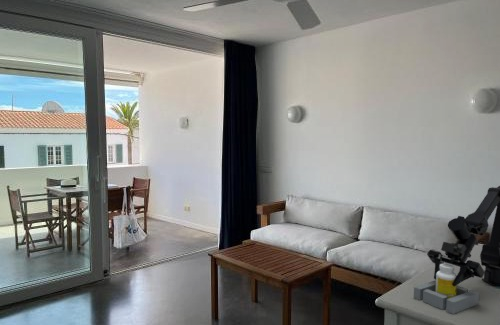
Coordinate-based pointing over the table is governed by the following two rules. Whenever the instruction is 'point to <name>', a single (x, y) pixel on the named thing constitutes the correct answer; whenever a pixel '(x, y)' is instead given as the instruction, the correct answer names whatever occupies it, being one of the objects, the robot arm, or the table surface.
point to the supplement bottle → (446, 281)
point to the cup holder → (441, 301)
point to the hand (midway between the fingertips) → (443, 282)
